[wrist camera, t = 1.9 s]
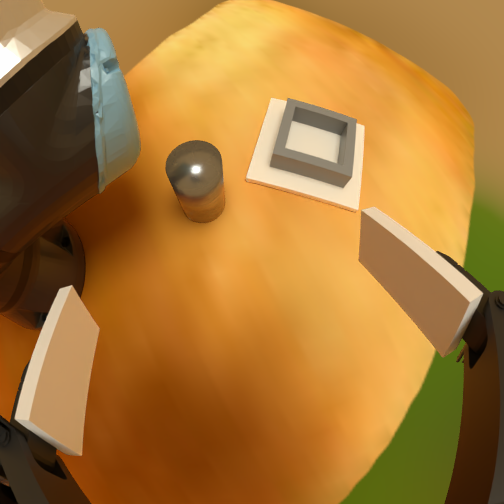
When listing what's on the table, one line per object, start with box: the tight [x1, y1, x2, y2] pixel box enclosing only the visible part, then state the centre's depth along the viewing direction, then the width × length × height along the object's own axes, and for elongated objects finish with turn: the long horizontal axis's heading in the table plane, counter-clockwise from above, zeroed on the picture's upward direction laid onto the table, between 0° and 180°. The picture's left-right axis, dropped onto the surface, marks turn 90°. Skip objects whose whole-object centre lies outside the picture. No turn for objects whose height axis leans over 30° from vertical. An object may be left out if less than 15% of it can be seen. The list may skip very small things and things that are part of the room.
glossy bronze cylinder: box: [166, 140, 225, 223], centre depth 28 cm, size 5×5×9 cm
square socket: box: [246, 98, 364, 212], centre depth 33 cm, size 14×14×4 cm
